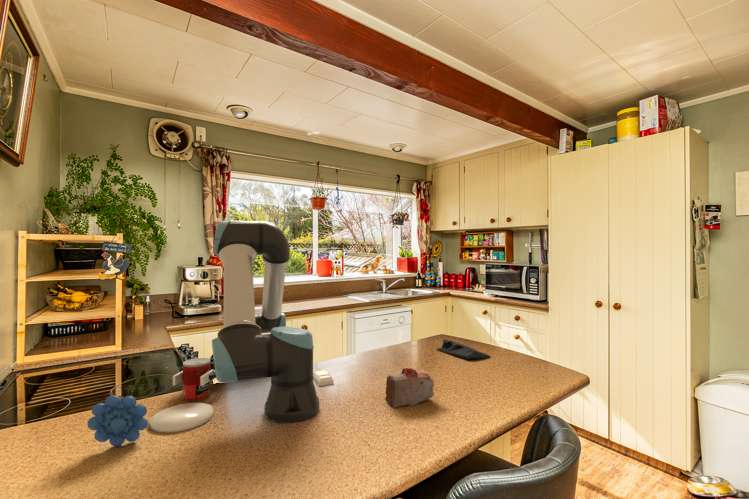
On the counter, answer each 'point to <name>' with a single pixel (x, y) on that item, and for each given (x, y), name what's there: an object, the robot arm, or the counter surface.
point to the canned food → (195, 379)
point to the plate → (181, 417)
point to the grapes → (118, 420)
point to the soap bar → (322, 378)
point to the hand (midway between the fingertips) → (187, 380)
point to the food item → (409, 387)
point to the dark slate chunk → (461, 350)
